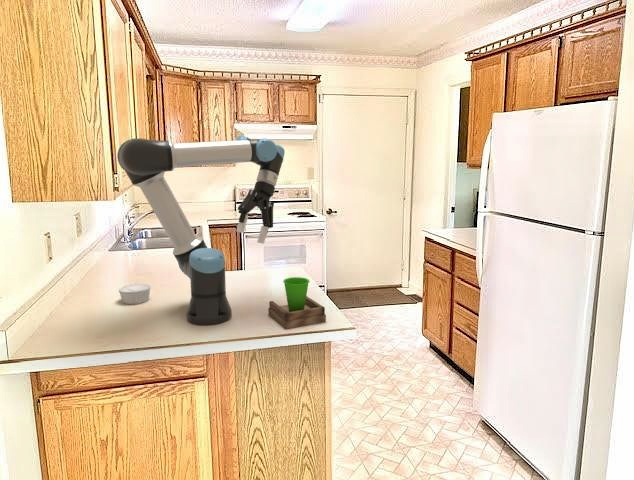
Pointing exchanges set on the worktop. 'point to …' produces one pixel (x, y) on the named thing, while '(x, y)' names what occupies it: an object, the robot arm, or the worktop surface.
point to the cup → (296, 292)
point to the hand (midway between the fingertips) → (250, 237)
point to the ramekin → (135, 293)
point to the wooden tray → (297, 314)
